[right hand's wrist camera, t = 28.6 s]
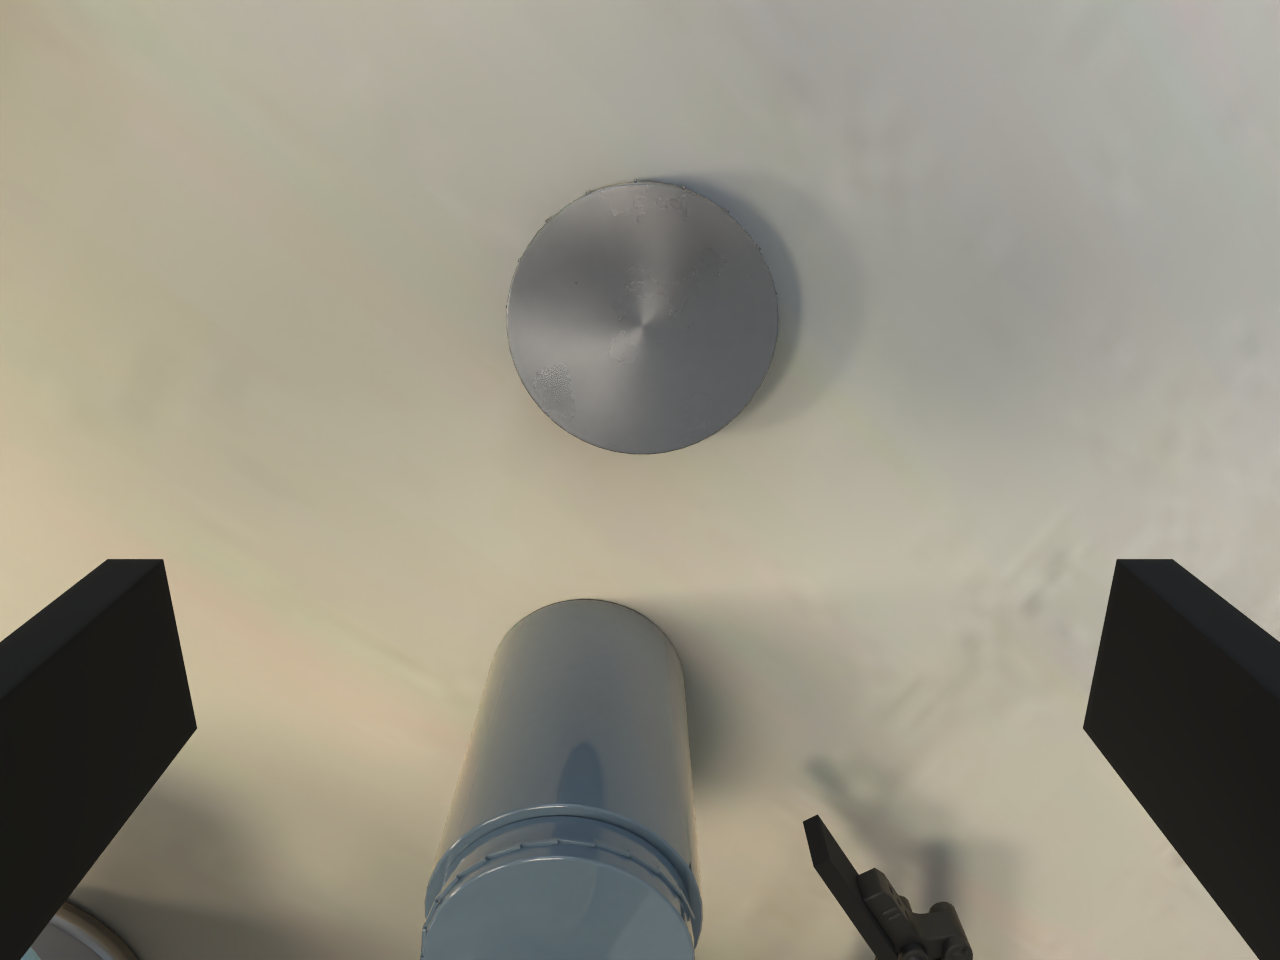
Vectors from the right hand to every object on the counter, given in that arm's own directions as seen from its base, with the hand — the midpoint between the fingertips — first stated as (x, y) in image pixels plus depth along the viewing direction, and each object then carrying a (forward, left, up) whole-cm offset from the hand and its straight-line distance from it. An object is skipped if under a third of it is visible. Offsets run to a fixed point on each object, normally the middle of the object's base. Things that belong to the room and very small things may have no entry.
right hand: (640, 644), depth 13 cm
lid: (0, 0, -25) cm, 25 cm away
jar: (-3, -18, -27) cm, 32 cm away
